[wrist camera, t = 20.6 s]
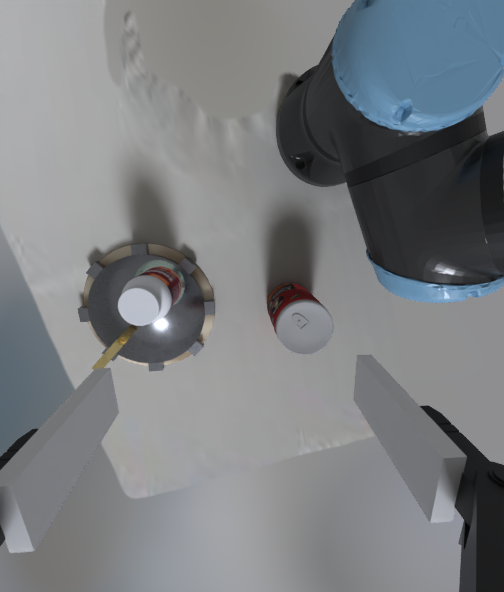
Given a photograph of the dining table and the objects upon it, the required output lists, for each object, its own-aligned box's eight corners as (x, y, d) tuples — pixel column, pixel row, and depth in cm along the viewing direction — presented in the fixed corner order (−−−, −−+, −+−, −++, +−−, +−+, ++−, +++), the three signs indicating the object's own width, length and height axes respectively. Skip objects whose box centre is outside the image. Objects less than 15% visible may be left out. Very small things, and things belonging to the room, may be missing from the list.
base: (70, 247, 43) (69, 247, 42) (209, 239, 44) (208, 239, 43) (98, 369, 48) (97, 370, 48) (219, 360, 49) (219, 360, 49)
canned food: (283, 273, 46) (298, 289, 35) (321, 298, 48) (346, 321, 37) (257, 310, 47) (264, 336, 37) (294, 333, 49) (311, 365, 38)
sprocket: (55, 314, 45) (21, 332, 37) (136, 214, 41) (116, 213, 34) (161, 388, 50) (149, 417, 42) (241, 304, 46) (242, 320, 39)
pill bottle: (183, 267, 42) (166, 283, 32) (182, 305, 44) (166, 333, 33) (140, 263, 42) (110, 279, 31) (141, 303, 43) (111, 330, 33)
